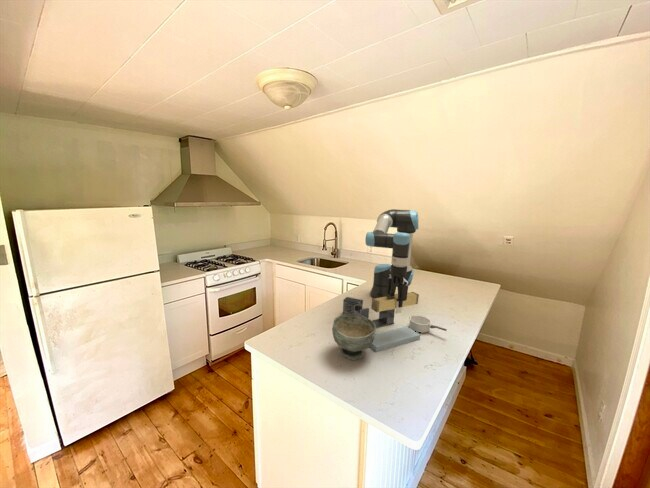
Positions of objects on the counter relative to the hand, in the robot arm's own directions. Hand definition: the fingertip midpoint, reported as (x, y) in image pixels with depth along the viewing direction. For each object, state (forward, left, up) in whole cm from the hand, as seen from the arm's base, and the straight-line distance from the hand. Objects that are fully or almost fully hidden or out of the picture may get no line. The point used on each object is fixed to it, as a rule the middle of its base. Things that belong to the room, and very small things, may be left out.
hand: (394, 310), depth 133 cm
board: (0, 0, -16) cm, 16 cm away
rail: (0, 0, +2) cm, 2 cm away
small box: (-31, -4, -16) cm, 35 cm away
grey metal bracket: (-17, +1, -16) cm, 23 cm away
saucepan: (+1, +23, -16) cm, 28 cm away
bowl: (+2, -25, -16) cm, 30 cm away
